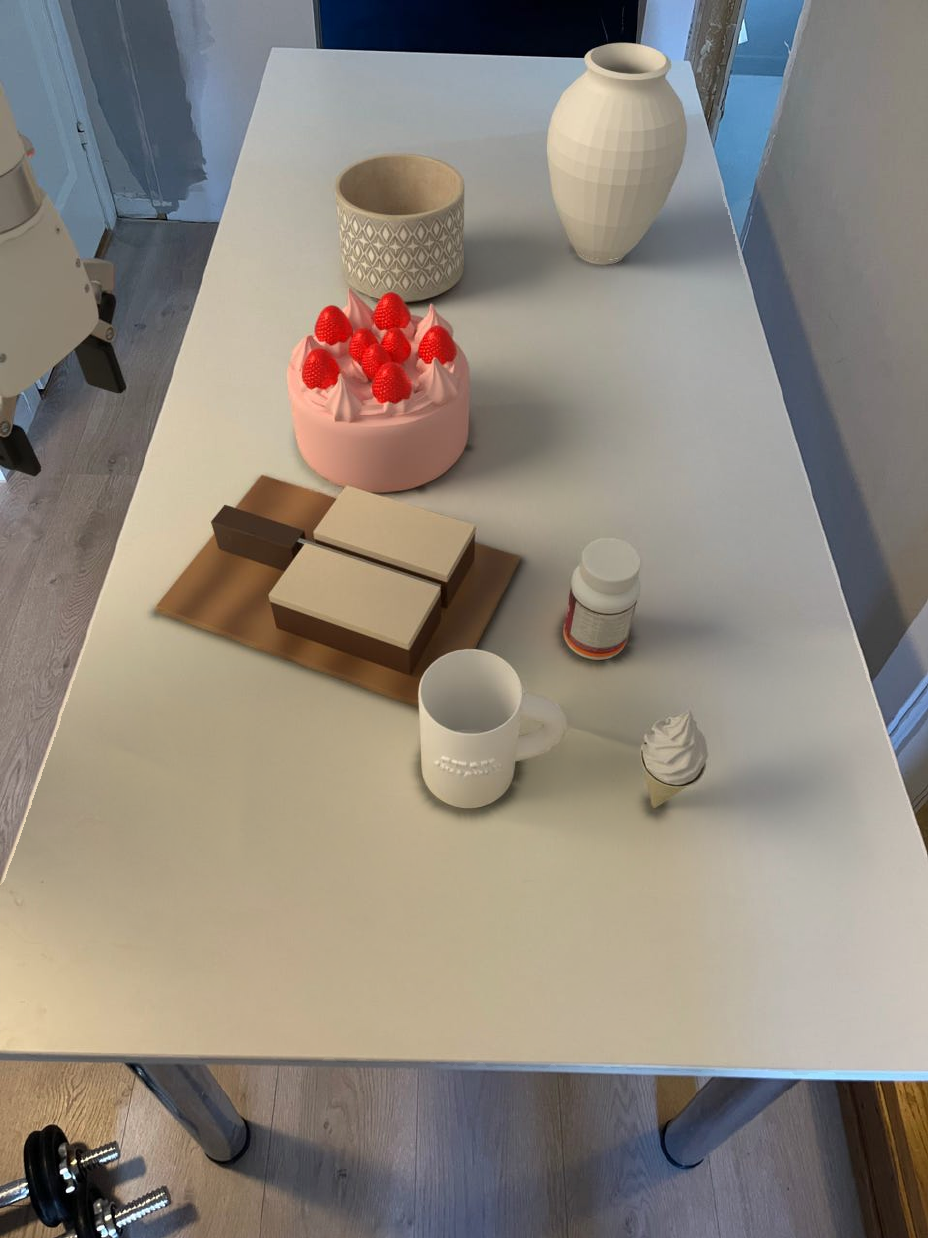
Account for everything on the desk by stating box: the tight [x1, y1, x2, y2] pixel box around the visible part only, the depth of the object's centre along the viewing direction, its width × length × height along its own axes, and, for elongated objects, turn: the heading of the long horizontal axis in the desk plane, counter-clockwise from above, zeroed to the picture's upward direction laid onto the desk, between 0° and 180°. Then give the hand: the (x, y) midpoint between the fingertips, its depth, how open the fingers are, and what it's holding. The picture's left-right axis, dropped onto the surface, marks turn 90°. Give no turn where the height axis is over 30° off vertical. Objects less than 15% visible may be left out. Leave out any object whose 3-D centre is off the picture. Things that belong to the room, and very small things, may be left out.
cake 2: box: [313, 485, 477, 609], centre depth 89 cm, size 14×7×5 cm, turn 67°
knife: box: [210, 504, 442, 610], centre depth 89 cm, size 24×3×4 cm, turn 67°
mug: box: [418, 648, 567, 809], centre depth 74 cm, size 8×12×12 cm
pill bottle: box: [563, 537, 642, 661], centre depth 83 cm, size 6×6×11 cm
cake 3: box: [269, 543, 441, 676], centre depth 84 cm, size 14×7×5 cm, turn 67°
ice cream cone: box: [639, 709, 709, 809], centre depth 70 cm, size 5×5×15 cm
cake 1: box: [286, 288, 471, 494], centre depth 99 cm, size 20×20×14 cm
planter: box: [334, 153, 465, 303], centre depth 120 cm, size 16×16×13 cm
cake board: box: [155, 474, 520, 709], centre depth 90 cm, size 30×20×1 cm, turn 67°
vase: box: [546, 42, 688, 266], centre depth 119 cm, size 18×18×25 cm
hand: (66, 426), depth 65 cm, fingers open, 9 cm apart
